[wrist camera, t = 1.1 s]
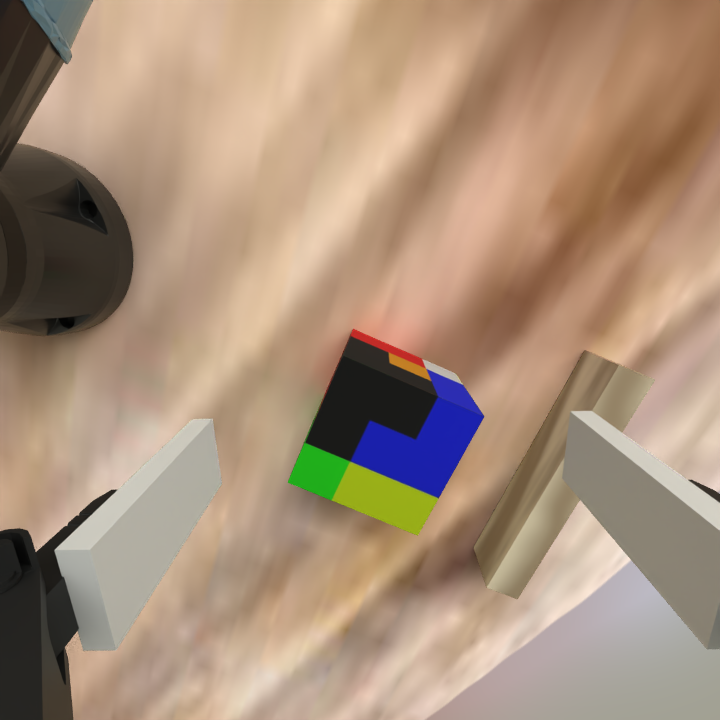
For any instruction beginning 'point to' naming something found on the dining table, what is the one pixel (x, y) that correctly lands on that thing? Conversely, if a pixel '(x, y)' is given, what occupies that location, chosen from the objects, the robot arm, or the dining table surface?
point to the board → (551, 474)
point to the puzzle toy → (387, 434)
